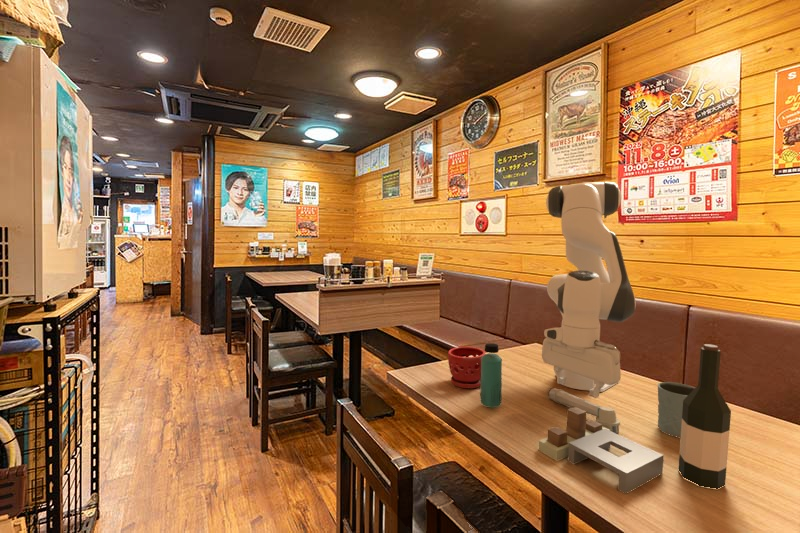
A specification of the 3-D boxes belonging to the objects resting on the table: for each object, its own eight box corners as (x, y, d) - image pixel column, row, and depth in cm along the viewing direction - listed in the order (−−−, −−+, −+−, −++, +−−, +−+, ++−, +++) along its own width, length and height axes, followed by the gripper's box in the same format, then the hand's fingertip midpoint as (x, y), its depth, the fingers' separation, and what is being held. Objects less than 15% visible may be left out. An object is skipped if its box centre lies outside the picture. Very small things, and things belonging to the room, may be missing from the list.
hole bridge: (604, 445, 103) (605, 428, 103) (662, 474, 91) (663, 455, 91) (567, 460, 96) (568, 442, 96) (625, 493, 84) (626, 473, 84)
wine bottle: (669, 468, 93) (677, 340, 91) (702, 466, 94) (712, 340, 91) (698, 491, 85) (709, 351, 82) (735, 489, 86) (746, 351, 83)
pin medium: (555, 447, 102) (556, 426, 102) (566, 453, 99) (567, 431, 99) (547, 450, 101) (547, 429, 100) (557, 456, 98) (558, 434, 97)
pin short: (590, 433, 109) (591, 419, 109) (601, 439, 106) (602, 424, 106) (583, 436, 108) (583, 422, 107) (594, 442, 105) (594, 427, 104)
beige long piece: (558, 386, 133) (623, 406, 110) (559, 406, 133) (625, 431, 109) (545, 388, 131) (608, 409, 108) (546, 409, 131) (610, 435, 107)
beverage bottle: (501, 413, 121) (503, 347, 119) (479, 411, 122) (480, 346, 121) (500, 404, 127) (502, 342, 126) (479, 402, 129) (481, 340, 127)
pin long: (573, 440, 106) (575, 406, 105) (584, 445, 103) (586, 411, 102) (565, 443, 104) (567, 409, 103) (576, 449, 101) (578, 414, 100)
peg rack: (591, 430, 111) (591, 421, 111) (609, 439, 106) (610, 429, 106) (538, 450, 101) (538, 440, 100) (556, 460, 96) (557, 450, 96)
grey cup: (647, 425, 114) (649, 384, 113) (670, 419, 118) (673, 379, 117) (684, 443, 104) (687, 398, 103) (708, 435, 108) (711, 392, 107)
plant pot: (462, 374, 153) (462, 343, 152) (492, 384, 144) (493, 351, 143) (440, 383, 144) (440, 350, 143) (470, 394, 135) (471, 359, 134)
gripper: (628, 344, 94) (624, 402, 95) (555, 326, 111) (552, 375, 112) (611, 348, 90) (608, 408, 91) (539, 329, 108) (536, 379, 109)
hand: (577, 390), depth 102 cm, fingers open, 8 cm apart
